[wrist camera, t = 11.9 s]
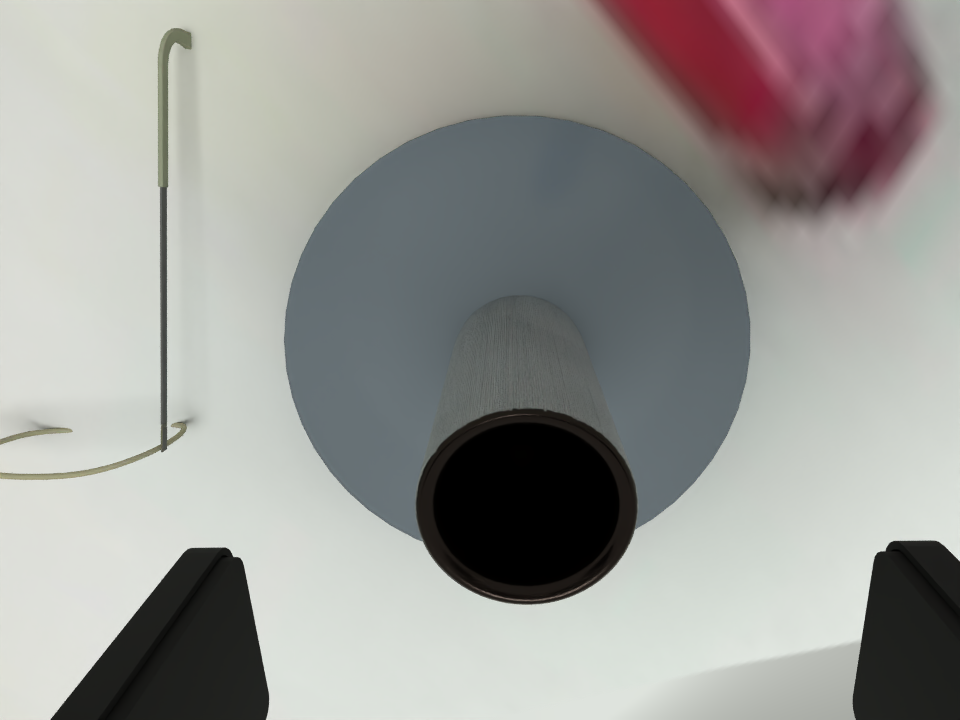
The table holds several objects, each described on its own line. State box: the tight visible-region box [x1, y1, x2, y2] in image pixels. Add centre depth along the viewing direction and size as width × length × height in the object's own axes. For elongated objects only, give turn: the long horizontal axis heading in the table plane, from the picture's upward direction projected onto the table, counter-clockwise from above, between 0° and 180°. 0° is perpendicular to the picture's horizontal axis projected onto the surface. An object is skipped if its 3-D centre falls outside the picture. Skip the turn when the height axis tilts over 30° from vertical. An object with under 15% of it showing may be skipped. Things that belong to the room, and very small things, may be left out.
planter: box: [415, 295, 638, 605], centre depth 19 cm, size 4×4×10 cm
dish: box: [284, 116, 750, 541], centre depth 24 cm, size 16×16×1 cm
